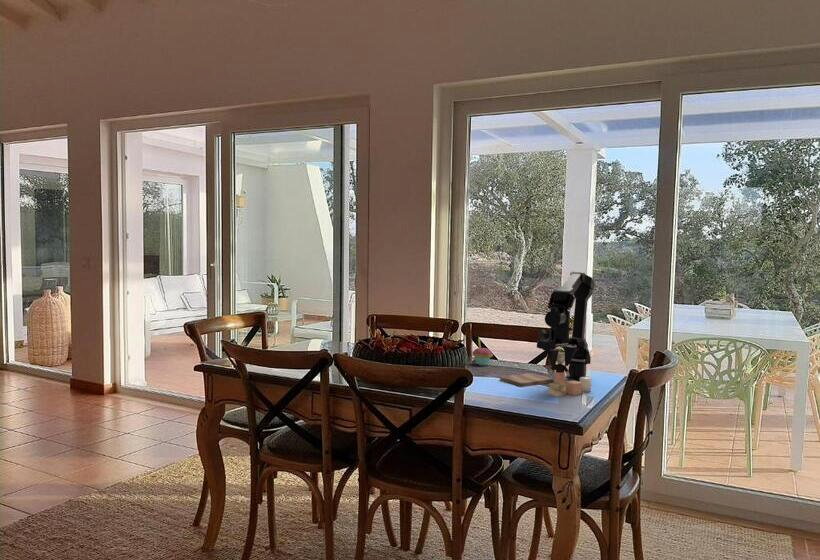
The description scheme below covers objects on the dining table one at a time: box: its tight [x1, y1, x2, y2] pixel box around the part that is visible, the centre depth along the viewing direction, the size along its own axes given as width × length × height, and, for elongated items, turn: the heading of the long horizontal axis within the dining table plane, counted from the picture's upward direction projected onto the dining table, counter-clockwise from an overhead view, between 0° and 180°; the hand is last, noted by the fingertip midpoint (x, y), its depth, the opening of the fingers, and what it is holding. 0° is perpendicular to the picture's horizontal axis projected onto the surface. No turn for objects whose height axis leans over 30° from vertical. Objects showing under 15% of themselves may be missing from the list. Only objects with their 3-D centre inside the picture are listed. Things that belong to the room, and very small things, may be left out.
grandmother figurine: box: [548, 354, 570, 384], centre depth 236 cm, size 8×4×13 cm, turn 65°
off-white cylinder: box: [579, 376, 592, 393], centre depth 235 cm, size 4×4×4 cm
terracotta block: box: [565, 380, 583, 396], centre depth 231 cm, size 4×4×4 cm
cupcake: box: [472, 335, 494, 366], centre depth 278 cm, size 9×8×12 cm
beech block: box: [548, 381, 567, 398], centre depth 228 cm, size 4×4×4 cm
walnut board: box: [499, 372, 554, 388], centre depth 248 cm, size 16×12×1 cm
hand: (559, 366), depth 236 cm, fingers open, 6 cm apart
